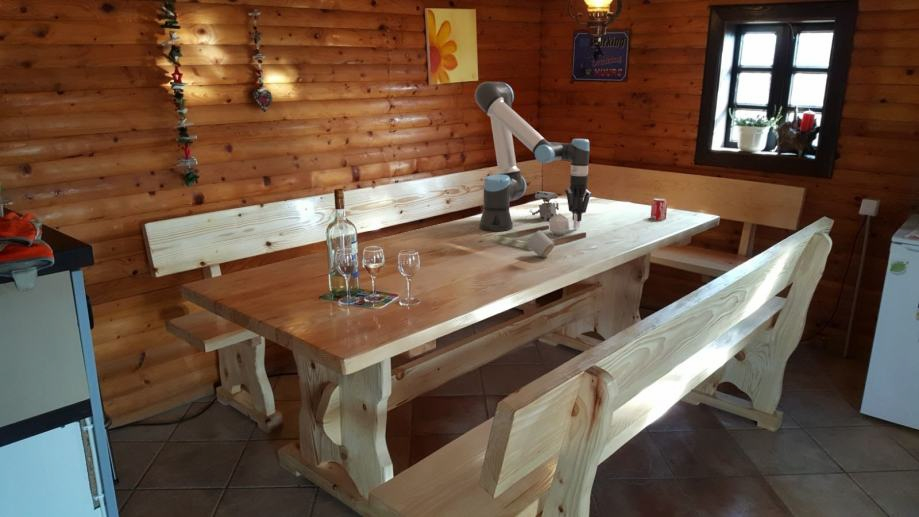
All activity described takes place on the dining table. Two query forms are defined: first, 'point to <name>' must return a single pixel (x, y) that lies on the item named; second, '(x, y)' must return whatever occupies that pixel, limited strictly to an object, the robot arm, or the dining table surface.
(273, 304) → the dining table surface
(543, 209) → the figurine
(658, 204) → the soda can
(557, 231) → the die
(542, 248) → the ceramic mug
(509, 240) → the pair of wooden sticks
